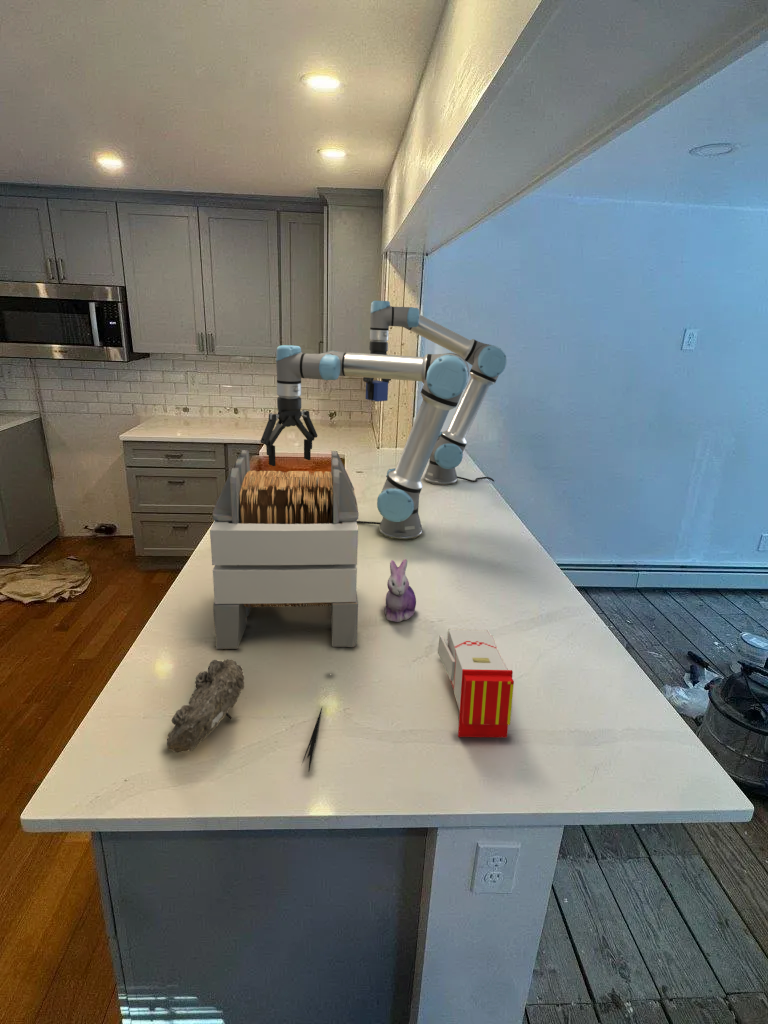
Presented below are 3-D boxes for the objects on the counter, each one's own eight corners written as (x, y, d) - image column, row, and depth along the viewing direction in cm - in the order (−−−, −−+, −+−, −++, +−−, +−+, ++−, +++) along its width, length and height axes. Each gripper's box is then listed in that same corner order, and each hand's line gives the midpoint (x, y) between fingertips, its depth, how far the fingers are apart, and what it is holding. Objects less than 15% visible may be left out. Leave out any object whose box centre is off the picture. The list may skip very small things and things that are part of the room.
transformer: (234, 582, 160) (226, 440, 146) (350, 581, 163) (353, 443, 150) (213, 651, 128) (201, 478, 114) (357, 647, 132) (363, 480, 118)
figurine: (392, 627, 141) (395, 572, 136) (374, 608, 149) (376, 556, 144) (425, 619, 145) (429, 566, 140) (405, 601, 154) (408, 550, 149)
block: (376, 401, 233) (377, 383, 231) (365, 399, 238) (366, 380, 236) (387, 400, 237) (388, 382, 234) (376, 398, 242) (376, 380, 240)
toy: (488, 613, 130) (523, 677, 101) (484, 667, 133) (517, 744, 104) (435, 612, 130) (455, 676, 101) (432, 666, 133) (451, 743, 103)
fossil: (192, 660, 117) (244, 628, 112) (224, 691, 120) (276, 661, 115) (142, 746, 98) (202, 712, 93) (182, 779, 101) (242, 748, 96)
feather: (331, 679, 122) (336, 673, 122) (307, 777, 96) (313, 769, 95) (324, 675, 122) (329, 669, 121) (298, 772, 95) (304, 764, 95)
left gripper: (260, 401, 167) (262, 470, 175) (328, 395, 184) (327, 459, 191) (247, 397, 173) (250, 465, 180) (314, 392, 189) (314, 454, 196)
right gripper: (366, 341, 221) (364, 401, 229) (402, 341, 233) (399, 398, 241) (354, 340, 226) (353, 398, 234) (390, 340, 238) (387, 396, 246)
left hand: (290, 462), depth 185 cm, fingers open, 13 cm apart
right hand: (376, 398), depth 237 cm, fingers closed on block, 6 cm apart
